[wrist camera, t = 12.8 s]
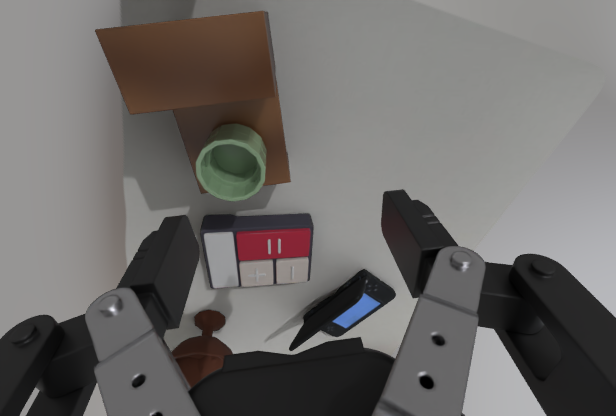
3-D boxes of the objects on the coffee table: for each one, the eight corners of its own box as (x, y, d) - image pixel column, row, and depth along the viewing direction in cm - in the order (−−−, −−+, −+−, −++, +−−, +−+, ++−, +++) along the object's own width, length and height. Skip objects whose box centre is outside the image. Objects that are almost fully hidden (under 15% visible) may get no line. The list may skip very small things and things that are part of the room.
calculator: (310, 285, 46) (209, 293, 44) (306, 265, 49) (213, 272, 47) (314, 228, 40) (198, 234, 38) (310, 210, 44) (203, 215, 41)
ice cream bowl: (240, 299, 52) (229, 390, 39) (240, 338, 57) (230, 428, 45) (175, 299, 50) (143, 394, 37) (182, 338, 56) (156, 432, 43)
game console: (335, 332, 60) (344, 378, 52) (284, 305, 54) (285, 353, 46) (397, 290, 54) (417, 334, 47) (347, 254, 48) (360, 299, 41)
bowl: (198, 125, 29) (185, 144, 25) (261, 118, 29) (259, 135, 25) (214, 180, 32) (206, 205, 28) (271, 173, 32) (270, 196, 28)
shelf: (165, 23, 29) (93, 29, 17) (267, 11, 29) (263, 10, 18) (210, 170, 38) (182, 239, 26) (288, 160, 38) (294, 224, 27)
